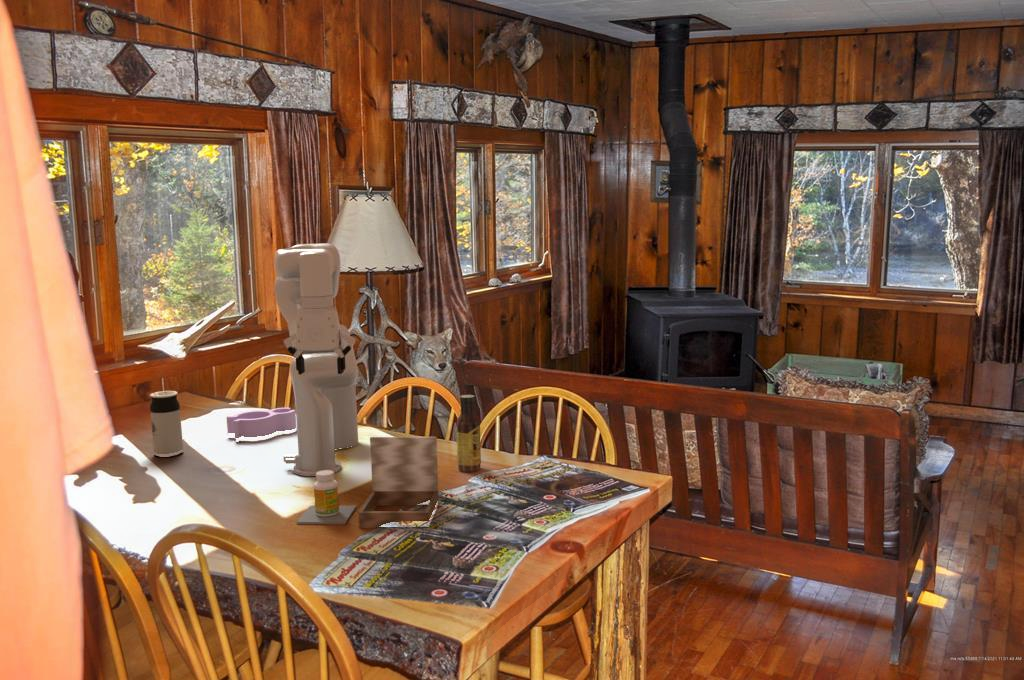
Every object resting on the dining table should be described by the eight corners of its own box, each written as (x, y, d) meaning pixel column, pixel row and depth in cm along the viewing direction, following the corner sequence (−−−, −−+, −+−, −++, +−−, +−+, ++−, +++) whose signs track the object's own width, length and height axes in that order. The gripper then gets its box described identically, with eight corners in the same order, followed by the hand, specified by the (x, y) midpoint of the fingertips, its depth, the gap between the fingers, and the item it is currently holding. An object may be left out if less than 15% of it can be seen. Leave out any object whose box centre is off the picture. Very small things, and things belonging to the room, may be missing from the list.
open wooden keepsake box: (359, 527, 208) (355, 455, 206) (373, 504, 224) (370, 437, 221) (429, 527, 207) (426, 455, 205) (439, 504, 223) (436, 436, 220)
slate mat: (296, 524, 211) (296, 522, 211) (310, 507, 222) (310, 505, 222) (345, 524, 211) (345, 521, 211) (356, 507, 222) (356, 505, 222)
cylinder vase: (365, 445, 276) (361, 362, 272) (325, 453, 269) (320, 367, 265) (347, 437, 286) (343, 356, 282) (308, 444, 279) (303, 361, 275)
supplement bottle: (327, 518, 213) (324, 477, 211) (310, 514, 216) (307, 474, 214) (344, 511, 217) (341, 471, 216) (327, 508, 220) (324, 467, 219)
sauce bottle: (478, 473, 246) (475, 399, 243) (454, 472, 248) (452, 398, 244) (483, 466, 253) (481, 393, 250) (461, 465, 254) (458, 393, 251)
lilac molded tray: (286, 426, 302) (285, 405, 301) (302, 434, 292) (300, 412, 291) (224, 437, 291) (223, 415, 289) (238, 445, 281) (237, 422, 279)
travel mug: (183, 449, 277) (178, 389, 274) (183, 456, 269) (178, 394, 266) (154, 452, 274) (149, 391, 271) (153, 459, 267) (148, 397, 264)
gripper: (276, 305, 222) (281, 376, 225) (349, 304, 221) (352, 376, 224) (286, 301, 229) (290, 370, 232) (356, 300, 228) (359, 370, 231)
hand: (321, 373), depth 228 cm, fingers open, 9 cm apart
